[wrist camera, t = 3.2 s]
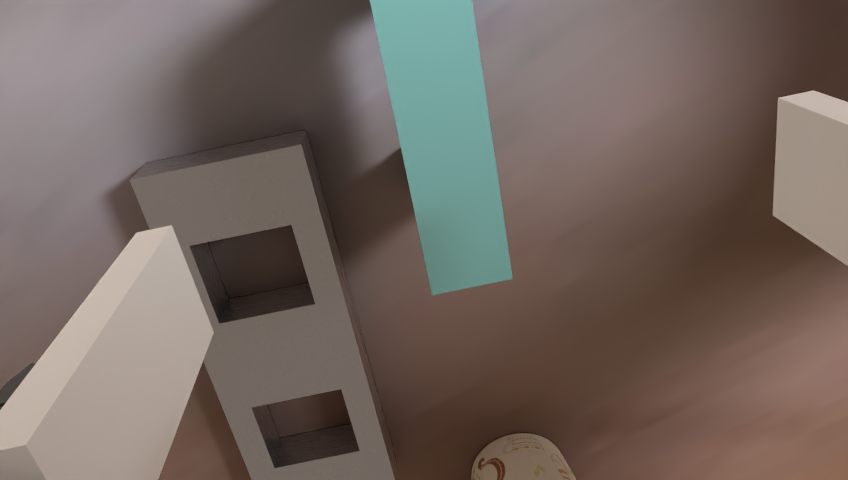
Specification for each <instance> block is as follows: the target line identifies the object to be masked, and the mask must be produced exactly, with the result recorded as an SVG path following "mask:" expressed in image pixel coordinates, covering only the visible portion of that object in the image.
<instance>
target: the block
mask: <svg viewBox="0 0 848 480" xmlns="http://www.w3.org/2000/svg"><path fill="white" fill-rule="evenodd" d="M129 181H130V183H131V185H132V188H133V190H134V193H135V195H136V198H137V200H138V203H139V205H140V207H141V210H142V212H143V215H144V217H145V220H146V222H147V225H148V227H149V230H151V229H156V228H161V227H165V226H170V225H172V227H173V230H174V232H175V235H176V237H177V240H178V242H179V245H180V247H181V250H182V253H183V255H184V258H185V260H186V263H187V265H188V268H189V270H190V273H191V275H192V278H193V280H194V283H195V286H196V288H197V291H198V293H199V296H200V298H201V301H202V303H203V306H204V308H205V311H206V314H207V316H208V319H209V321H210V324H211V326H212V329H213V331H214V333H213V336H212V339H211V341H210V344H209V347H208V349H207V352H206V354H205V357H204V360H203V362H204V364H205V367H206V369H207V372H208V374H209V377H210V379H211V381H212V384H213V386H214V389H215V391H216V394H217V396H218V399H219V401H220V404H221V406H222V408H223V411H224V413H225V416H226V418H227V421H228V423H229V426H230V428H231V430H232V433H233V435H234V438H235V440H236V443H237V445H238V448H239V450H240V453H241V455H242V457H243V460H244V462H245V465H246V467H247V470H248V472H249V475H250V477H251V479H252V480H398V476H397V462H396V458H395V454H394V451H393V447H392V443H391V440H390V436H389V432H388V429H387V425H386V421H385V418H384V414H383V411H382V407H381V403H380V400H379V396H378V392H377V389H376V385H375V381H374V378H373V374H372V370H371V367H370V363H369V359H368V356H367V352H366V348H365V345H364V341H363V337H362V334H361V330H360V326H359V323H358V319H357V315H356V312H355V308H354V304H353V301H352V297H351V293H350V290H349V286H348V282H347V279H346V275H345V272H344V268H343V264H342V261H341V257H340V253H339V250H338V246H337V242H336V239H335V235H334V231H333V228H332V224H331V220H330V217H329V213H328V209H327V206H326V202H325V198H324V195H323V191H322V187H321V184H320V180H319V176H318V173H317V169H316V165H315V162H314V158H313V154H312V151H311V147H310V144H309V140H308V136H307V133H306V130H302V131H297V132H293V133H288V134H283V135H278V136H273V137H268V138H264V139H259V140H254V141H249V142H244V143H239V144H235V145H230V146H225V147H220V148H215V149H210V150H206V151H201V152H196V153H191V154H186V155H181V156H177V157H172V158H167V159H162V160H157V161H152V162H148V163H145V164H144V165H143V166H142V167H141V168H140V169H139V170H138V172H137V173H136V174H135V175H134V176H133V177H132V178H131V179H130V180H129ZM288 225H292V229H293V232H294V235H295V239H296V242H297V245H298V249H299V252H300V255H301V258H302V262H303V265H304V268H305V272H306V275H307V278H308V282H309V283H305V284H300V285H295V286H290V287H285V288H281V289H276V290H271V291H266V292H261V293H256V294H251V295H247V296H242V297H237V298H232V299H228V297H227V294H226V291H225V288H224V286H223V283H222V280H221V278H220V275H219V272H218V269H217V267H216V264H215V261H214V259H213V256H212V253H211V251H210V248H209V245H208V242H211V241H216V240H221V239H225V238H230V237H235V236H240V235H245V234H250V233H254V232H259V231H264V230H269V229H274V228H279V227H284V226H288ZM340 389H341V390H342V394H343V397H344V400H345V404H346V407H347V410H348V414H349V417H350V420H351V424H346V425H342V426H337V427H332V428H327V429H322V430H317V431H312V432H307V433H302V434H298V435H293V436H288V437H283V438H280V437H279V435H278V432H277V429H276V427H275V424H274V421H273V419H272V416H271V413H270V410H269V408H268V405H267V404H271V403H276V402H281V401H286V400H291V399H296V398H301V397H305V396H310V395H315V394H320V393H325V392H330V391H335V390H340Z"/></svg>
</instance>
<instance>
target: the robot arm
mask: <svg viewBox="0 0 848 480" xmlns="http://www.w3.org/2000/svg"><path fill="white" fill-rule="evenodd" d="M773 216H775V217H776V218H777V219H779V220H780V221H782V222H783V223H785V224H786V225H788V226H789V227H791V228H792V229H794V230H795V231H797V232H798V233H800V234H801V235H803V236H804V237H806V238H807V239H809V240H810V241H811V242H813V243H814V244H816V245H817V246H819V247H820V248H822V249H823V250H825V251H826V252H828V253H829V254H831V255H832V256H834V257H835V258H837V259H838V260H840V261H841V262H843V263H844V264H846V265H847V266H848V102H846V101H843V100H840V99H837V98H834V97H832V96H829V95H826V94H823V93H820V92H817V91H814V90H813V91H808V92H804V93H799V94H794V95H789V96H785V97H780V98H778V110H777V132H776V154H775V175H774V197H773ZM213 333H214V331H213V329H212V326H211V324H210V321H209V319H208V316H207V314H206V311H205V308H204V306H203V303H202V301H201V298H200V296H199V293H198V291H197V288H196V286H195V283H194V280H193V278H192V275H191V273H190V270H189V268H188V265H187V263H186V260H185V258H184V255H183V253H182V250H181V247H180V245H179V242H178V240H177V237H176V235H175V232H174V230H173V227H172V225H170V226H165V227H161V228H156V229H151V230H146V231H142V232H137V233H136V234H135V235H134V236H133V238H132V239H131V240H130V242H129V243H128V244H127V246H126V247H125V248H124V249H123V251H122V252H121V253H120V255H119V256H118V257H117V259H116V260H115V261H114V263H113V264H112V265H111V266H110V268H109V269H108V270H107V272H106V273H105V274H104V276H103V277H102V278H101V279H100V281H99V282H98V283H97V285H96V286H95V287H94V289H93V290H92V291H91V292H90V294H89V295H88V296H87V298H86V299H85V300H84V302H83V303H82V304H81V306H80V307H79V308H78V309H77V311H76V312H75V313H74V315H73V316H72V317H71V319H70V320H69V321H68V322H67V324H66V325H65V326H64V328H63V329H62V330H61V332H60V333H59V334H58V335H57V337H56V338H55V339H54V341H53V342H52V343H51V345H50V346H49V347H48V349H47V350H46V351H45V352H44V354H43V355H42V356H41V358H40V359H39V360H38V362H37V363H32V364H30V365H29V366H28V367H26V368H25V369H24V370H23V371H21V372H20V373H19V374H18V375H16V376H15V377H14V378H13V379H11V380H10V381H9V382H7V383H6V384H5V385H4V386H3V387H2V389H1V390H0V480H158V479H159V476H160V474H161V471H162V468H163V466H164V463H165V461H166V458H167V455H168V453H169V450H170V447H171V445H172V442H173V439H174V437H175V434H176V431H177V429H178V426H179V423H180V421H181V418H182V415H183V413H184V410H185V408H186V405H187V402H188V400H189V397H190V394H191V392H192V389H193V386H194V384H195V381H196V378H197V376H198V373H199V370H200V368H201V365H202V362H203V360H204V357H205V354H206V352H207V349H208V347H209V344H210V341H211V339H212V336H213Z"/></svg>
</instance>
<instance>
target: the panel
mask: <svg viewBox="0 0 848 480" xmlns="http://www.w3.org/2000/svg"><path fill="white" fill-rule="evenodd" d="M370 4H371V8H372V13H373V18H374V23H375V27H376V32H377V37H378V41H379V46H380V51H381V56H382V60H383V65H384V70H385V75H386V79H387V84H388V89H389V94H390V98H391V103H392V108H393V113H394V117H395V122H396V127H397V132H398V136H399V141H400V146H401V151H402V155H403V160H404V165H405V169H406V174H407V179H408V184H409V188H410V193H411V198H412V203H413V207H414V212H415V217H416V222H417V226H418V231H419V236H420V241H421V245H422V250H423V255H424V260H425V264H426V269H427V274H428V278H429V283H430V288H431V293H432V295H437V294H442V293H447V292H452V291H457V290H461V289H466V288H471V287H476V286H481V285H486V284H491V283H496V282H500V281H505V280H510V279H513V277H512V270H511V263H510V256H509V250H508V243H507V236H506V229H505V222H504V215H503V209H502V202H501V195H500V188H499V181H498V175H497V168H496V161H495V154H494V147H493V141H492V134H491V127H490V120H489V113H488V106H487V100H486V93H485V86H484V79H483V72H482V66H481V59H480V52H479V45H478V38H477V32H476V25H475V18H474V11H473V4H472V0H370Z"/></svg>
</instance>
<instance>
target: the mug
mask: <svg viewBox="0 0 848 480" xmlns="http://www.w3.org/2000/svg"><path fill="white" fill-rule="evenodd" d="M471 480H576V478H575V476H574V474H573V473H572V471H571V469H570V468H569V466H568V464H567V462H566V461H565V459H564V457H563V456H562V454H561V452H560V451H559V449H558V448H557V447H556V446H555V445H554V444H553V443H552V442H551V441H549V440H548V439H546V438H544V437H542V436H539V435H535V434H529V433H517V434H511V435H507V436H504V437H501V438H499V439H497V440H495V441H493V442H491V443H490V444H488V445H487V446H486V447H485V448H484V449H483V450H482V451H481V452H480V453H479V454H478V456H477V457H476V459H475V461H474V464H473V467H472V474H471Z"/></svg>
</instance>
